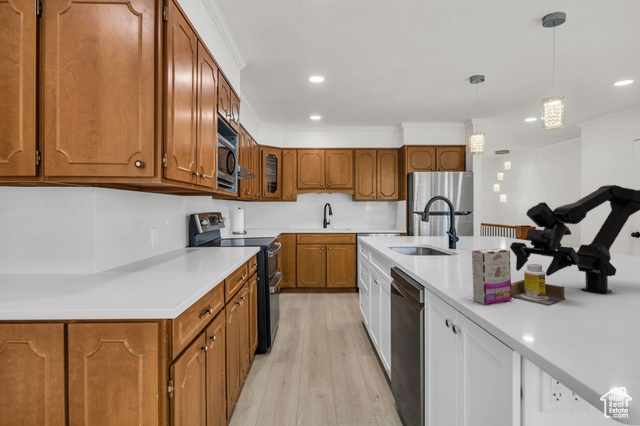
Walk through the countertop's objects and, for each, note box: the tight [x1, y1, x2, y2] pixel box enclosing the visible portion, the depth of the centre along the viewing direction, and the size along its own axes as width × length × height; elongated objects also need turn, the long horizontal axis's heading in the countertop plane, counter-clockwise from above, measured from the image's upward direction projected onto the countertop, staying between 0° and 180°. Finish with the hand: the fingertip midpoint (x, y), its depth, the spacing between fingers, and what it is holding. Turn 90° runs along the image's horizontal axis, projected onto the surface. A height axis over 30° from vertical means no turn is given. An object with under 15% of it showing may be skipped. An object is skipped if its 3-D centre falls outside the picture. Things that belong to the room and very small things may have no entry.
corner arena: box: [511, 279, 566, 307], centre depth 99 cm, size 12×12×4 cm
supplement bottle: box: [523, 263, 546, 298], centre depth 99 cm, size 6×6×10 cm
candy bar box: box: [471, 248, 513, 306], centre depth 97 cm, size 11×5×16 cm, turn 109°
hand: (531, 272), depth 98 cm, fingers open, 9 cm apart
